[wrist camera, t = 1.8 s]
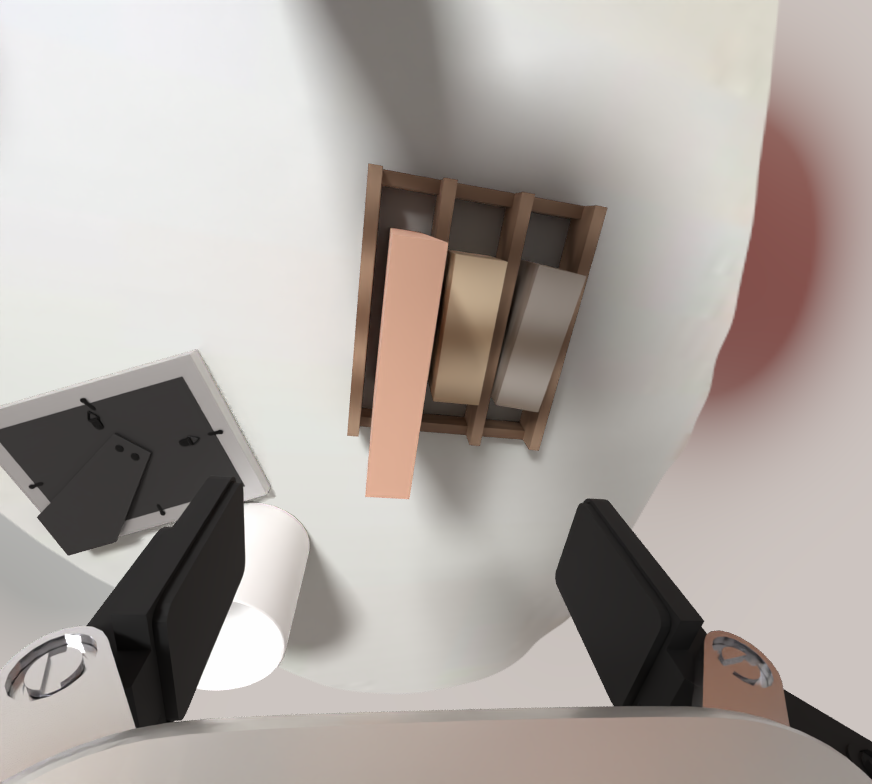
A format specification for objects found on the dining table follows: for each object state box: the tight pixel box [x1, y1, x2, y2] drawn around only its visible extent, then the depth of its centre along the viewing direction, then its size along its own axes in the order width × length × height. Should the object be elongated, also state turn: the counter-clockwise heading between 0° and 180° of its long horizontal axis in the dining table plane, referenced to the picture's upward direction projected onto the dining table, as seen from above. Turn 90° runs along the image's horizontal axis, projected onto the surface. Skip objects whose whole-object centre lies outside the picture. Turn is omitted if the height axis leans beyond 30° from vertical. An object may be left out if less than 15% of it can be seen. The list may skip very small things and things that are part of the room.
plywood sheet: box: [365, 227, 448, 499], centre depth 29 cm, size 14×2×18 cm, turn 171°
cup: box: [196, 502, 310, 690], centre depth 40 cm, size 12×12×12 cm
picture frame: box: [0, 349, 271, 556], centre depth 39 cm, size 16×3×21 cm
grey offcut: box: [491, 259, 586, 412], centre depth 36 cm, size 12×4×6 cm, turn 167°
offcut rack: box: [347, 163, 607, 451], centre depth 36 cm, size 22×18×4 cm
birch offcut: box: [428, 249, 508, 405], centre depth 35 cm, size 12×4×6 cm, turn 172°
